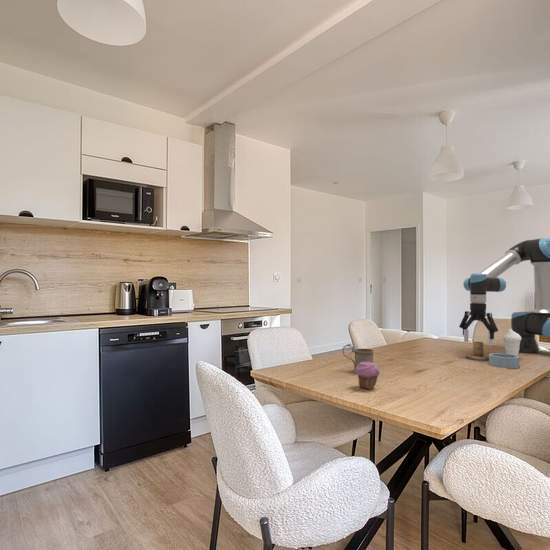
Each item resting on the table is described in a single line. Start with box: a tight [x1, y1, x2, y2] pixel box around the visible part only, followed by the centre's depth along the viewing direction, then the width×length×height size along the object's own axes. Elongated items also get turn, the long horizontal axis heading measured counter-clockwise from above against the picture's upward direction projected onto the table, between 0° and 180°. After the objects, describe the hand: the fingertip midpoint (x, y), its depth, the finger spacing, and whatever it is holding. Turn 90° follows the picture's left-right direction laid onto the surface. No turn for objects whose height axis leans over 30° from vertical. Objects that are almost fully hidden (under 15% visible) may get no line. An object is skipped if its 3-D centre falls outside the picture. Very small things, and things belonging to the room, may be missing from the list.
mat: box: [458, 355, 489, 363], centre depth 203 cm, size 14×14×1 cm
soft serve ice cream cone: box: [502, 328, 521, 356], centre depth 204 cm, size 8×8×16 cm
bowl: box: [488, 352, 520, 370], centre depth 187 cm, size 12×12×5 cm
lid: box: [465, 341, 489, 362], centre depth 203 cm, size 12×12×8 cm
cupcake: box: [355, 362, 380, 391], centre depth 148 cm, size 9×9×10 cm
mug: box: [342, 343, 375, 374], centre depth 175 cm, size 14×10×12 cm
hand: (477, 343), depth 203 cm, fingers open, 13 cm apart
